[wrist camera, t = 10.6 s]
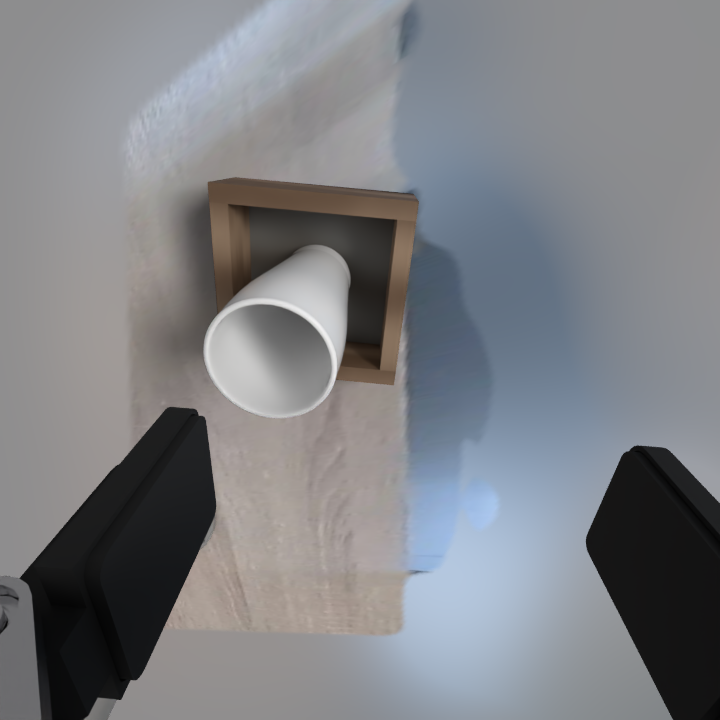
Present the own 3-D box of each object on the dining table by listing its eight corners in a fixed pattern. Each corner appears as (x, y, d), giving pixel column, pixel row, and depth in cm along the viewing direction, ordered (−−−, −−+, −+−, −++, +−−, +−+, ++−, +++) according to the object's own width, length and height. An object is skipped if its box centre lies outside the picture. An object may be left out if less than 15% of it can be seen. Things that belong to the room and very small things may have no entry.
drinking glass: (342, 327, 35) (311, 438, 22) (266, 296, 35) (187, 392, 21) (374, 254, 32) (360, 332, 19) (292, 218, 32) (218, 273, 18)
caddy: (392, 354, 37) (393, 385, 32) (243, 340, 37) (221, 368, 32) (413, 193, 31) (418, 201, 26) (235, 177, 31) (207, 182, 26)
